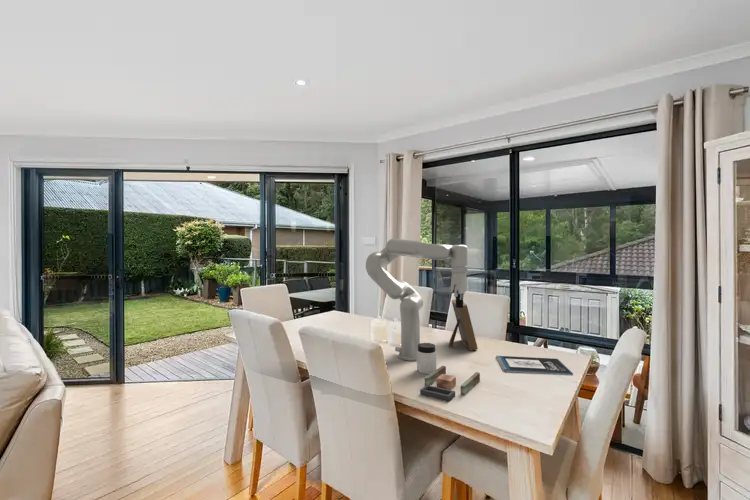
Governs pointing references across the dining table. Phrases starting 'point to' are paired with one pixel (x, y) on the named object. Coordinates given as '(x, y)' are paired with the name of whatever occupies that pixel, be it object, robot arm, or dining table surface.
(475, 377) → the walled channel
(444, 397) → the tray
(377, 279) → the robot arm
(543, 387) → the dining table surface
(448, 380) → the terracotta block
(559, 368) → the sketchbook
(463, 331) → the photo frame
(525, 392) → the dining table surface
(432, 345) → the jar
